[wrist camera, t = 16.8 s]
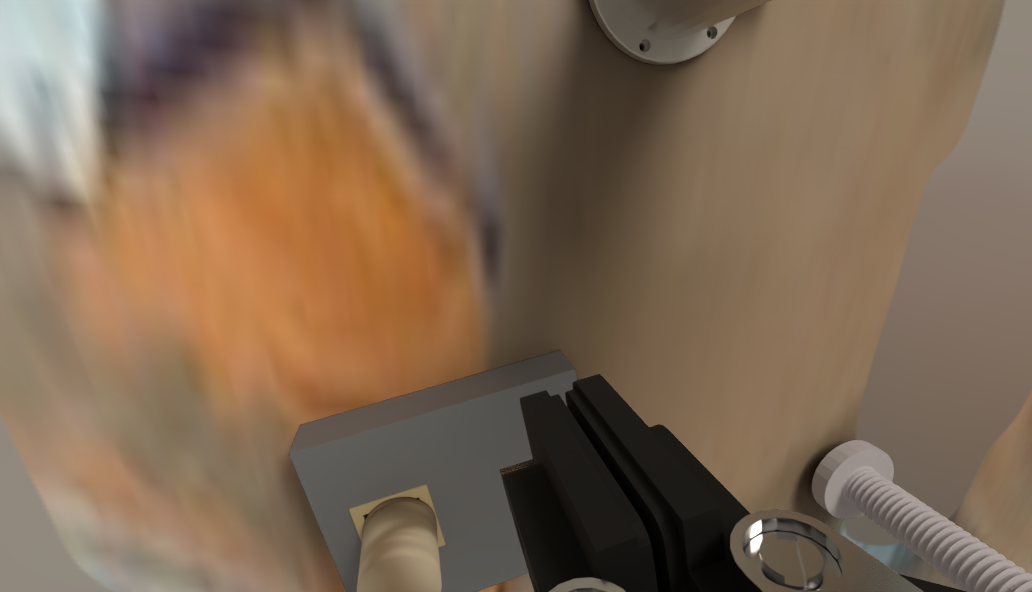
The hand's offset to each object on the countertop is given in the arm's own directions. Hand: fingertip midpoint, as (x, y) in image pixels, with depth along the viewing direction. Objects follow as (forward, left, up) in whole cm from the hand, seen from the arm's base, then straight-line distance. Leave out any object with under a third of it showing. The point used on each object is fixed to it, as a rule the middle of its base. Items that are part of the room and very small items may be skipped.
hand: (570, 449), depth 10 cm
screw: (-35, +35, -29) cm, 58 cm away
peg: (+9, +21, -28) cm, 37 cm away
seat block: (+4, +21, -29) cm, 36 cm away
